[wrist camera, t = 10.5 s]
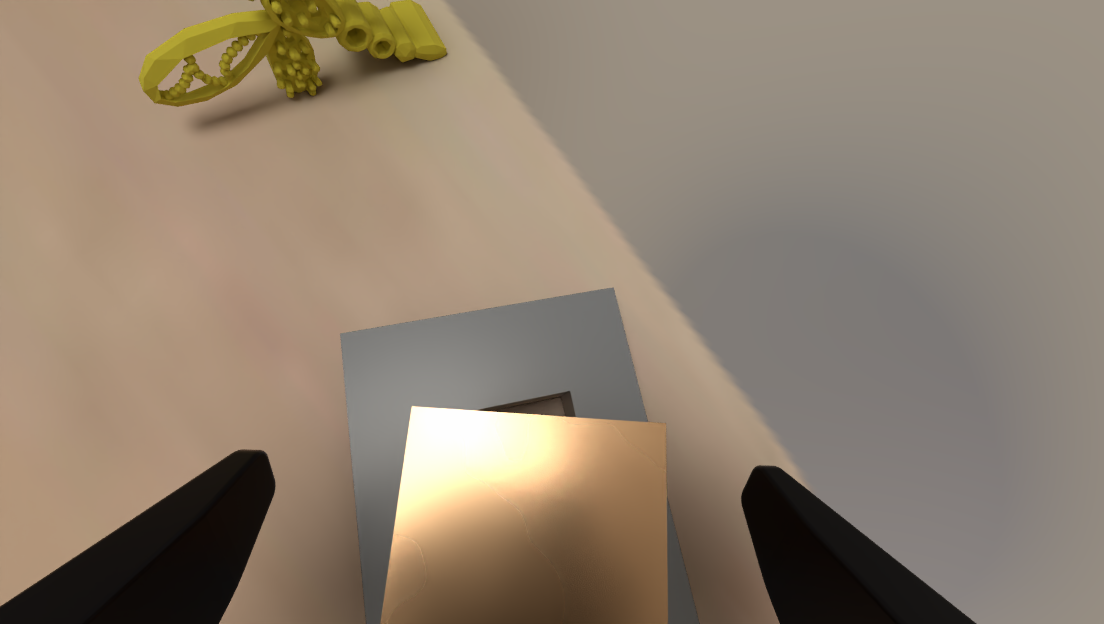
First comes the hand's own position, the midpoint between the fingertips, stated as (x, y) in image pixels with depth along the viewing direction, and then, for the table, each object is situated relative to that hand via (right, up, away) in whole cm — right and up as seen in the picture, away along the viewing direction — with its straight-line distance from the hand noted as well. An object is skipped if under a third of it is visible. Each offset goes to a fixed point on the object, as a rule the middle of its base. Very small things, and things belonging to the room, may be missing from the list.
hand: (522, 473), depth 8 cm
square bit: (-1, -3, +9) cm, 9 cm away
